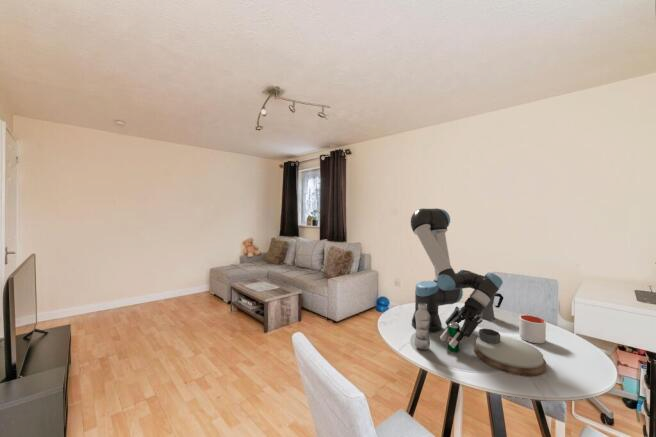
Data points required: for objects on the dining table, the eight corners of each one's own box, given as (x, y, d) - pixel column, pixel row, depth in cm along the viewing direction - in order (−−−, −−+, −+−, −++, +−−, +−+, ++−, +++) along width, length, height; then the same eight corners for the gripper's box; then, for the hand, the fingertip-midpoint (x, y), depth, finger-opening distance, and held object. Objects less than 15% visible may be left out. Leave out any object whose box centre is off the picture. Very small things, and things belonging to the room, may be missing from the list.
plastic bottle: (418, 343, 123) (418, 300, 123) (432, 348, 118) (433, 304, 118) (411, 348, 119) (412, 304, 118) (426, 353, 114) (426, 308, 113)
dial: (555, 359, 105) (555, 346, 105) (522, 375, 95) (522, 360, 95) (493, 334, 127) (493, 323, 127) (461, 344, 117) (461, 332, 117)
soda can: (445, 347, 119) (445, 321, 119) (455, 347, 119) (455, 320, 119) (451, 353, 114) (451, 326, 114) (462, 352, 114) (462, 325, 114)
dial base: (471, 362, 107) (471, 356, 107) (476, 338, 128) (476, 333, 128) (550, 384, 93) (550, 378, 93) (542, 353, 114) (542, 348, 114)
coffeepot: (470, 315, 156) (470, 285, 156) (477, 311, 162) (478, 283, 162) (499, 324, 144) (500, 291, 144) (506, 320, 150) (506, 288, 149)
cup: (550, 345, 121) (550, 324, 121) (525, 343, 123) (526, 322, 123) (537, 335, 131) (538, 315, 130) (515, 333, 132) (515, 314, 132)
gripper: (499, 314, 112) (467, 358, 108) (465, 301, 129) (437, 338, 125) (489, 303, 110) (457, 347, 106) (457, 291, 128) (428, 329, 123)
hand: (446, 342), depth 116 cm, fingers closed on soda can, 5 cm apart
